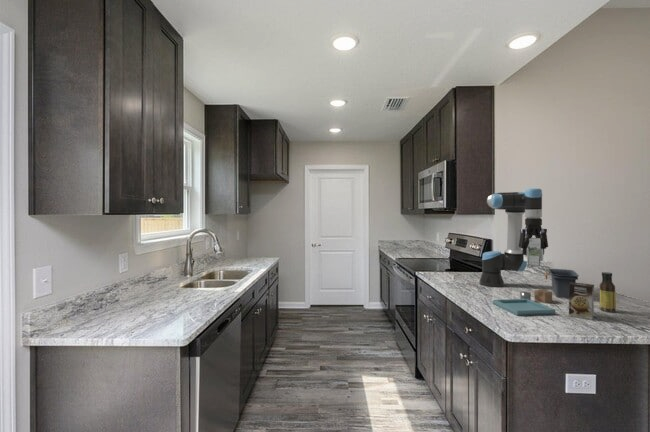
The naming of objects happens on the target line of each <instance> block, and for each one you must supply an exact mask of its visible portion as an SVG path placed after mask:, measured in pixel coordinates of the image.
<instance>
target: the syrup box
mask: <svg viewBox="0 0 650 432" xmlns="http://www.w3.org/2000/svg"><path fill="white" fill-rule="evenodd" d="M540 248H541V239H540V238H536V237H531V238H530V239H529V245H528V247H527V249H529V262H527V265H528V266H534V267H541V261H540ZM527 265H526V266H527Z"/></svg>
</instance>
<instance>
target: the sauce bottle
mask: <svg viewBox="0 0 650 432" xmlns="http://www.w3.org/2000/svg"><path fill="white" fill-rule="evenodd" d="M601 276H602V277H601V278H602V279H601V282H600V283H599V287H598V288H599V293H598V294H599V310H601V311H602V312H604V311H605V312H606V313H611V312H613V313H616V310H617V300H616V299H617V297H616V296H617V295H616V286H615V285H614V283H613V273H612V272H611V271H610V272H609V271H603V272H601Z"/></svg>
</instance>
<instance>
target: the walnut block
mask: <svg viewBox="0 0 650 432" xmlns="http://www.w3.org/2000/svg"><path fill="white" fill-rule="evenodd" d="M534 302H538V303H541V304H542V303H543V304H548V303H553V291H550V290H546V289H535V290H534Z"/></svg>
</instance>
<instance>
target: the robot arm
mask: <svg viewBox="0 0 650 432" xmlns="http://www.w3.org/2000/svg"><path fill="white" fill-rule="evenodd" d="M486 205H488V207H489V208H491V209H494V210H499V211H500V210H503V211H505V214H507V232H506V235H507V237H506V238H507V239H506V240H507V241H506V249H505V250H504V253H502V252H501V251H499V250H494V251H493V250H492V251H486V252H483V253H482V256H481V257H482V258H481V260H482V263H481V265H482V266H481V268H482V271H481V275H480V279H479V285H481V286H485V287H493V288H503V287H505V283H504V280H503V276H502V271H506V272H508V271H509V272H523V271H525V269H526V268H527V262H529V249H527V247H528V245H529V239H530V238H533V236H534V238H540V239H541V248H540V262H544V255H545V249H547V248H549V242H548V235H547V233H548V229H547V228H543V227H542V225H543V219H542V218H543V190H542V189H541V188H527V189H525V192H523V191H510V192H496V193H493V194H490V195H488V196H487V198H486ZM523 215H524V217H525V218H524V225H525V227H524V228H523Z"/></svg>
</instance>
